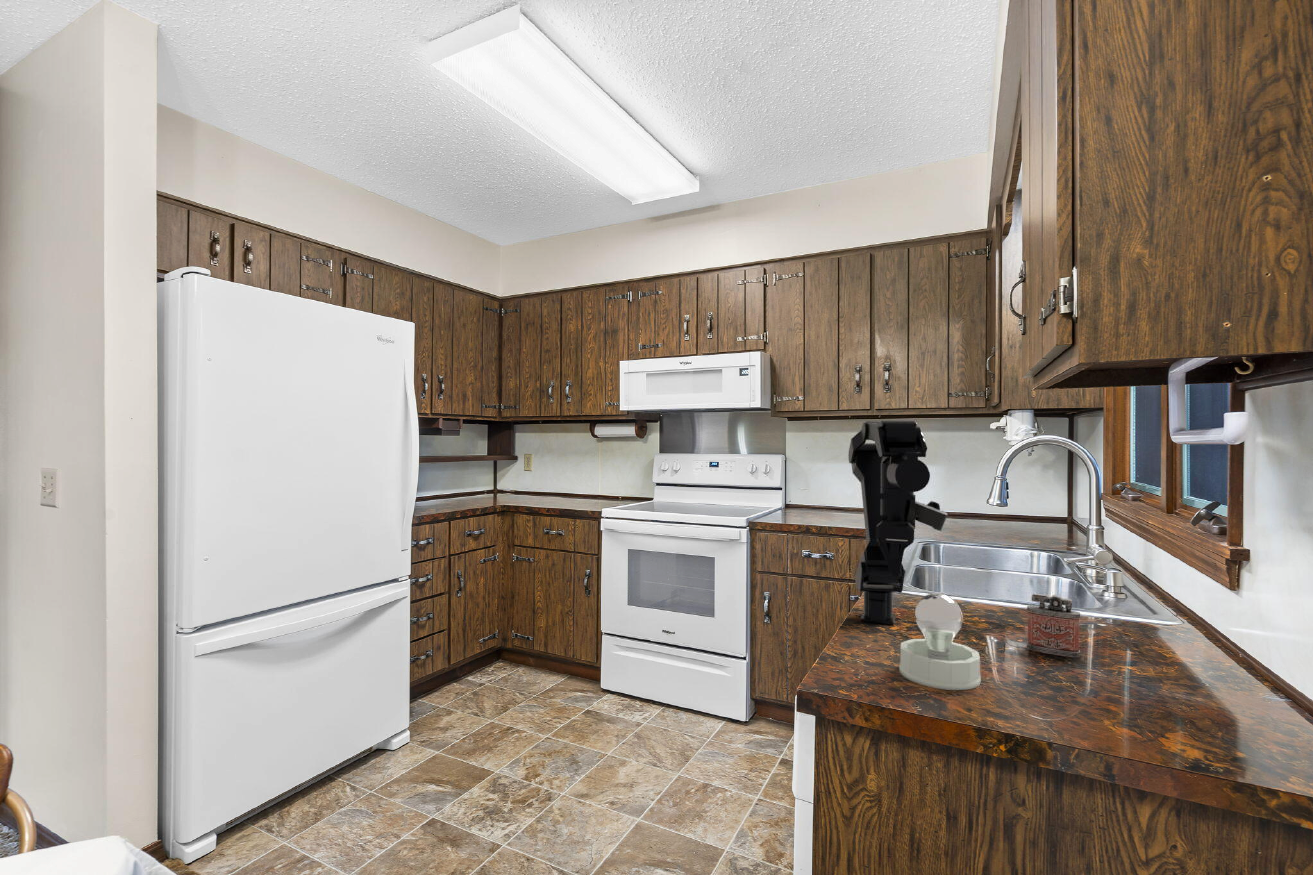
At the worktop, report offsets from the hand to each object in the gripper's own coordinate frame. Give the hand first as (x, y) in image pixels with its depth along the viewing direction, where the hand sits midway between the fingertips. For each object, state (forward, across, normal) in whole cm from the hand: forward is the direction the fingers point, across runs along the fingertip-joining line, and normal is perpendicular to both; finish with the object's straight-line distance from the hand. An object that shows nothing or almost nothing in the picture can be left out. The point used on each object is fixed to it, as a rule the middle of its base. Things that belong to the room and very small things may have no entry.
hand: (896, 571), depth 117 cm
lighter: (+13, +6, -26) cm, 30 cm away
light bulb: (+12, -15, -7) cm, 20 cm away
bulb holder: (+13, -15, -7) cm, 21 cm away
